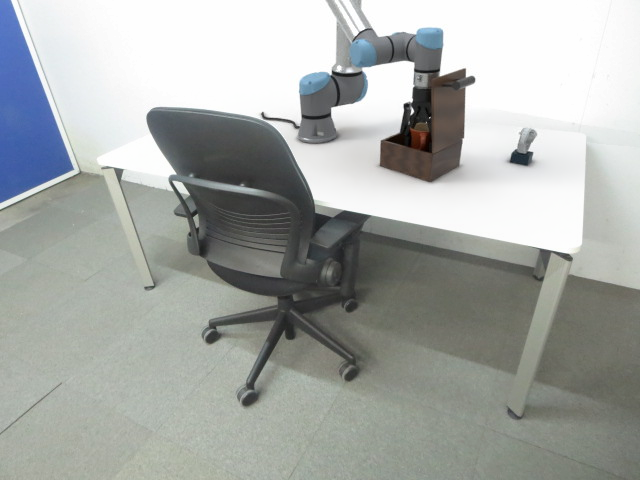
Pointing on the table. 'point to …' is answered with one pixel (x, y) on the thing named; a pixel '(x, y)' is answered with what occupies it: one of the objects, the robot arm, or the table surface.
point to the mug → (420, 137)
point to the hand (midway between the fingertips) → (419, 158)
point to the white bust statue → (524, 147)
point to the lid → (448, 108)
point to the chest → (418, 158)
